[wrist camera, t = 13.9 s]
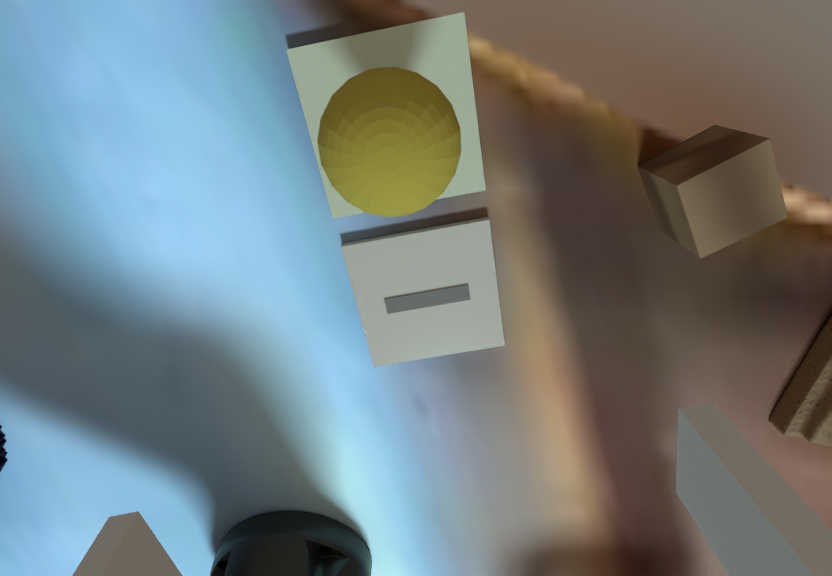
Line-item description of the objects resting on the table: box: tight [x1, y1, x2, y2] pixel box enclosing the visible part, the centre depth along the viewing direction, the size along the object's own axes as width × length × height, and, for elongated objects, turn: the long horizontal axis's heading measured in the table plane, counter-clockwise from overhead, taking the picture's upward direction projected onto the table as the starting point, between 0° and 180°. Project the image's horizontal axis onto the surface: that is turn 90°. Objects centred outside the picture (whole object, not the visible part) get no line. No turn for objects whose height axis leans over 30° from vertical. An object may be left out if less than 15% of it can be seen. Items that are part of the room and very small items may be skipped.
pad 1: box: [286, 12, 486, 219], centre depth 29 cm, size 10×10×1 cm
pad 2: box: [341, 217, 505, 367], centre depth 34 cm, size 10×10×1 cm
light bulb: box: [317, 67, 461, 217], centre depth 24 cm, size 7×7×10 cm
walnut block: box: [638, 125, 788, 259], centre depth 29 cm, size 5×5×5 cm
